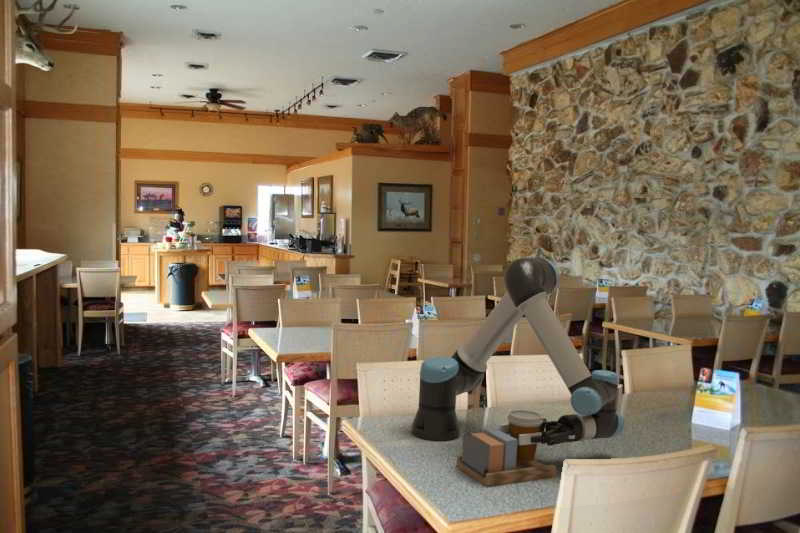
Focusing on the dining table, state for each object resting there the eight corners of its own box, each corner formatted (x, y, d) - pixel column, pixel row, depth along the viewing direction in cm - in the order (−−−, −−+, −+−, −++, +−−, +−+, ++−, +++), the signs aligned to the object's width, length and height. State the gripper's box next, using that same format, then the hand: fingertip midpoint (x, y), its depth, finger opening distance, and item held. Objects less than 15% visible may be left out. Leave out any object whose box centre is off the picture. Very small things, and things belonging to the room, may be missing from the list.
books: (491, 459, 185) (493, 427, 185) (515, 473, 175) (517, 439, 175) (466, 462, 181) (468, 429, 181) (488, 477, 172) (490, 442, 171)
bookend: (465, 462, 181) (467, 431, 181) (487, 477, 171) (489, 444, 171) (460, 463, 181) (462, 432, 180) (482, 477, 171) (484, 445, 170)
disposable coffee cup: (535, 452, 188) (538, 410, 187) (544, 464, 178) (546, 420, 177) (502, 451, 187) (504, 409, 187) (508, 463, 178) (511, 418, 177)
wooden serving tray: (520, 457, 192) (521, 447, 192) (555, 476, 178) (555, 465, 178) (456, 465, 183) (457, 454, 183) (487, 486, 169) (488, 475, 169)
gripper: (600, 452, 181) (532, 461, 171) (551, 429, 200) (487, 436, 190) (602, 425, 180) (534, 432, 171) (552, 405, 199) (488, 410, 189)
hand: (509, 434), depth 180 cm, fingers closed on disposable coffee cup, 8 cm apart
